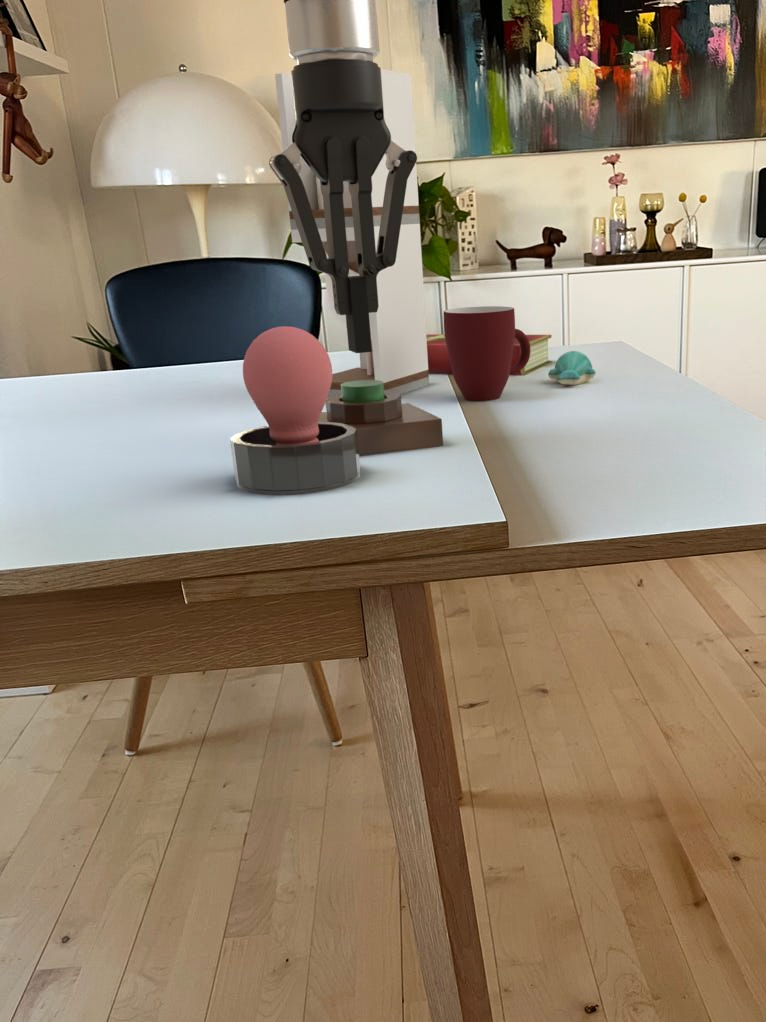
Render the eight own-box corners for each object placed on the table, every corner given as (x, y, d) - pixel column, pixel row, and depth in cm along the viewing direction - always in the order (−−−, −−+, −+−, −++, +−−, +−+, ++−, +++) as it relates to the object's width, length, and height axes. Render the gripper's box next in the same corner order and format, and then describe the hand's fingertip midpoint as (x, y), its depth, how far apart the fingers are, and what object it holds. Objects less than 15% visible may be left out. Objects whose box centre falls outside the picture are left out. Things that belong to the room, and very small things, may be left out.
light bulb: (256, 469, 90) (238, 325, 86) (339, 462, 91) (325, 319, 87) (255, 488, 84) (235, 333, 79) (344, 481, 85) (330, 328, 80)
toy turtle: (599, 379, 131) (599, 348, 130) (591, 389, 125) (591, 356, 123) (553, 380, 132) (552, 349, 131) (543, 389, 126) (542, 357, 124)
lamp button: (348, 407, 96) (346, 388, 95) (337, 401, 100) (336, 382, 99) (390, 403, 97) (388, 383, 97) (378, 396, 101) (376, 378, 100)
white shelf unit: (358, 383, 137) (332, 82, 123) (429, 386, 132) (411, 74, 119) (308, 398, 127) (274, 74, 114) (382, 401, 123) (357, 64, 109)
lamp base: (317, 462, 94) (312, 412, 92) (294, 443, 102) (289, 396, 101) (443, 447, 98) (440, 398, 96) (410, 429, 106) (407, 384, 105)
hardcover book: (523, 376, 136) (522, 343, 134) (379, 374, 143) (377, 342, 142) (551, 363, 146) (551, 332, 145) (415, 361, 154) (414, 332, 152)
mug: (504, 388, 128) (501, 303, 124) (547, 395, 122) (546, 306, 118) (434, 400, 122) (429, 311, 118) (476, 408, 116) (472, 314, 112)
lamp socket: (248, 503, 82) (242, 452, 80) (228, 476, 90) (222, 430, 89) (374, 486, 85) (370, 437, 83) (343, 462, 94) (338, 417, 92)
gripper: (396, 68, 93) (414, 341, 102) (250, 68, 89) (282, 353, 98) (423, 56, 86) (439, 348, 96) (266, 55, 82) (299, 362, 91)
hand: (360, 350), depth 97 cm, fingers closed
